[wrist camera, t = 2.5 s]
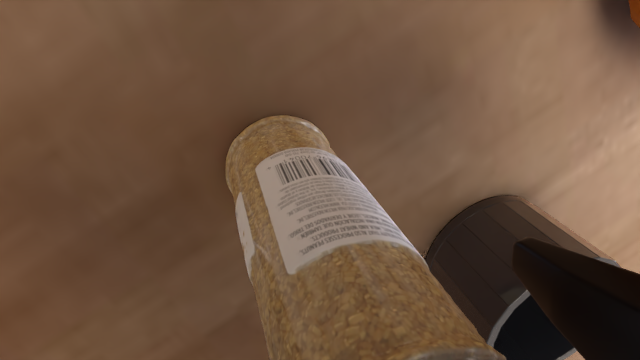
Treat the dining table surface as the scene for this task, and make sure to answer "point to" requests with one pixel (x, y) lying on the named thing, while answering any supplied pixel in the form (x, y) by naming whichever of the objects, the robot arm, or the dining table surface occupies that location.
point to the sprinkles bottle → (334, 258)
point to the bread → (635, 11)
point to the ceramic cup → (503, 274)
